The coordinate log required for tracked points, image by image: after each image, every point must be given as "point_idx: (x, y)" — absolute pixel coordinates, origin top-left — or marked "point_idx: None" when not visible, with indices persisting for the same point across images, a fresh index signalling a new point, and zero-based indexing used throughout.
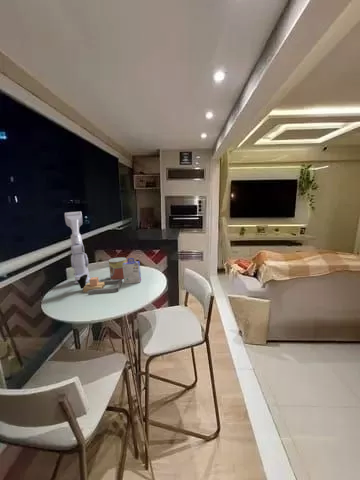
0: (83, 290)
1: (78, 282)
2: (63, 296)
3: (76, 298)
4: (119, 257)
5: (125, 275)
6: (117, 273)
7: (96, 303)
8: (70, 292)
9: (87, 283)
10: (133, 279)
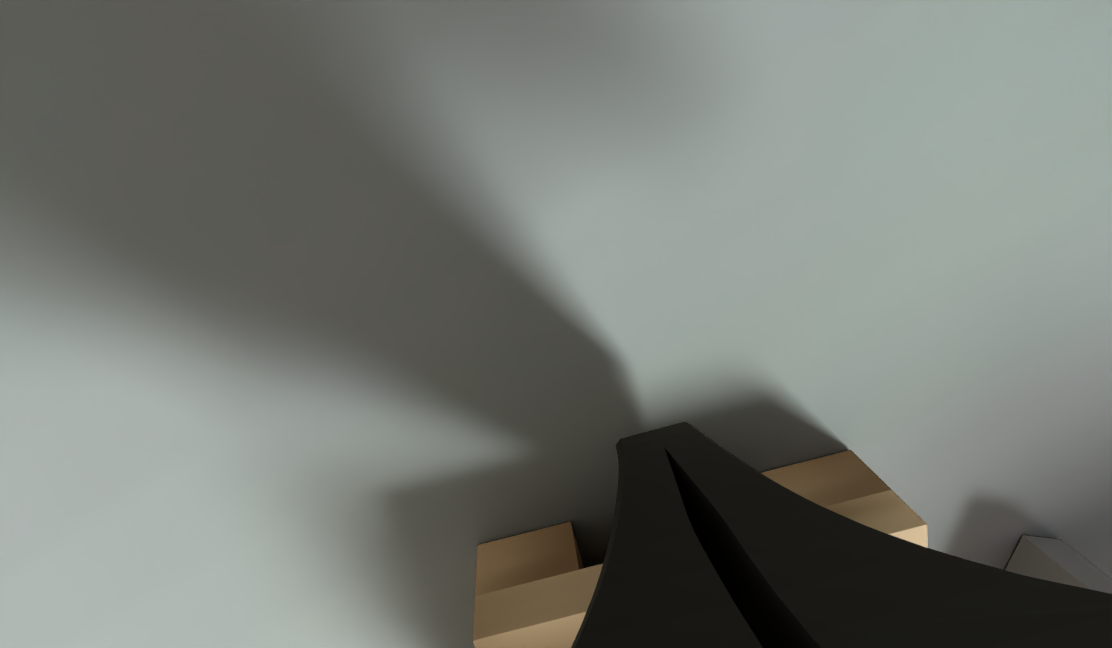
0: (475, 586)
1: (597, 600)
2: (55, 117)
3: (59, 603)
4: None
5: None
6: None
7: None
8: (430, 151)
9: (907, 540)
10: None
